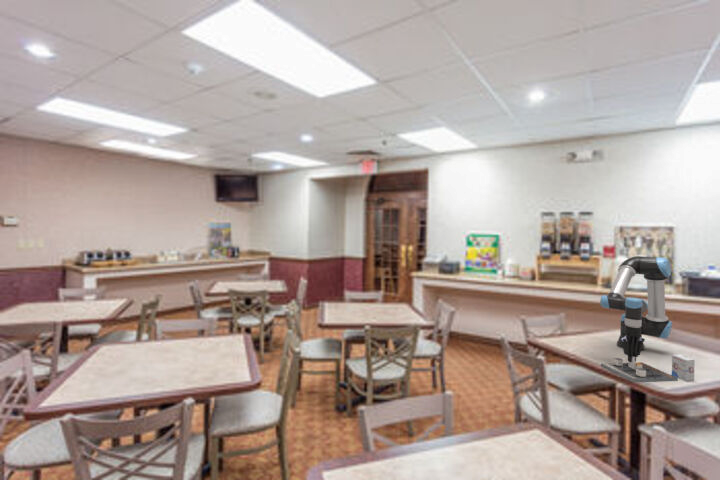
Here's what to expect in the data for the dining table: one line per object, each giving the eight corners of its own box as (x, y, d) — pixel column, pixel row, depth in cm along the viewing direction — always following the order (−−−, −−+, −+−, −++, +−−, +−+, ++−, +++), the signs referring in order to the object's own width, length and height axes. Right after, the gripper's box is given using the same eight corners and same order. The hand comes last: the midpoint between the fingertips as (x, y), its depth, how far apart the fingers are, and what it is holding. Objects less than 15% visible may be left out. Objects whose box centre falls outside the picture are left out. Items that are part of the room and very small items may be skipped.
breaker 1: (618, 363, 208) (618, 357, 208) (622, 365, 205) (623, 359, 205) (613, 363, 208) (614, 357, 207) (618, 365, 205) (618, 359, 204)
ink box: (670, 375, 197) (671, 354, 196) (679, 374, 197) (679, 353, 197) (686, 381, 188) (686, 359, 188) (694, 381, 189) (695, 359, 188)
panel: (641, 364, 211) (641, 362, 211) (677, 380, 189) (677, 377, 189) (600, 366, 209) (600, 363, 209) (632, 382, 187) (632, 379, 187)
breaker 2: (641, 374, 193) (641, 367, 193) (645, 376, 190) (646, 369, 190) (635, 374, 193) (636, 367, 192) (640, 376, 190) (640, 370, 189)
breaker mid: (637, 368, 201) (637, 362, 201) (642, 370, 198) (642, 364, 198) (632, 368, 200) (632, 362, 200) (637, 370, 197) (637, 364, 197)
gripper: (638, 323, 202) (636, 364, 203) (616, 324, 201) (615, 365, 202) (649, 327, 195) (648, 369, 196) (627, 328, 194) (626, 370, 195)
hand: (631, 367), depth 199 cm, fingers closed
